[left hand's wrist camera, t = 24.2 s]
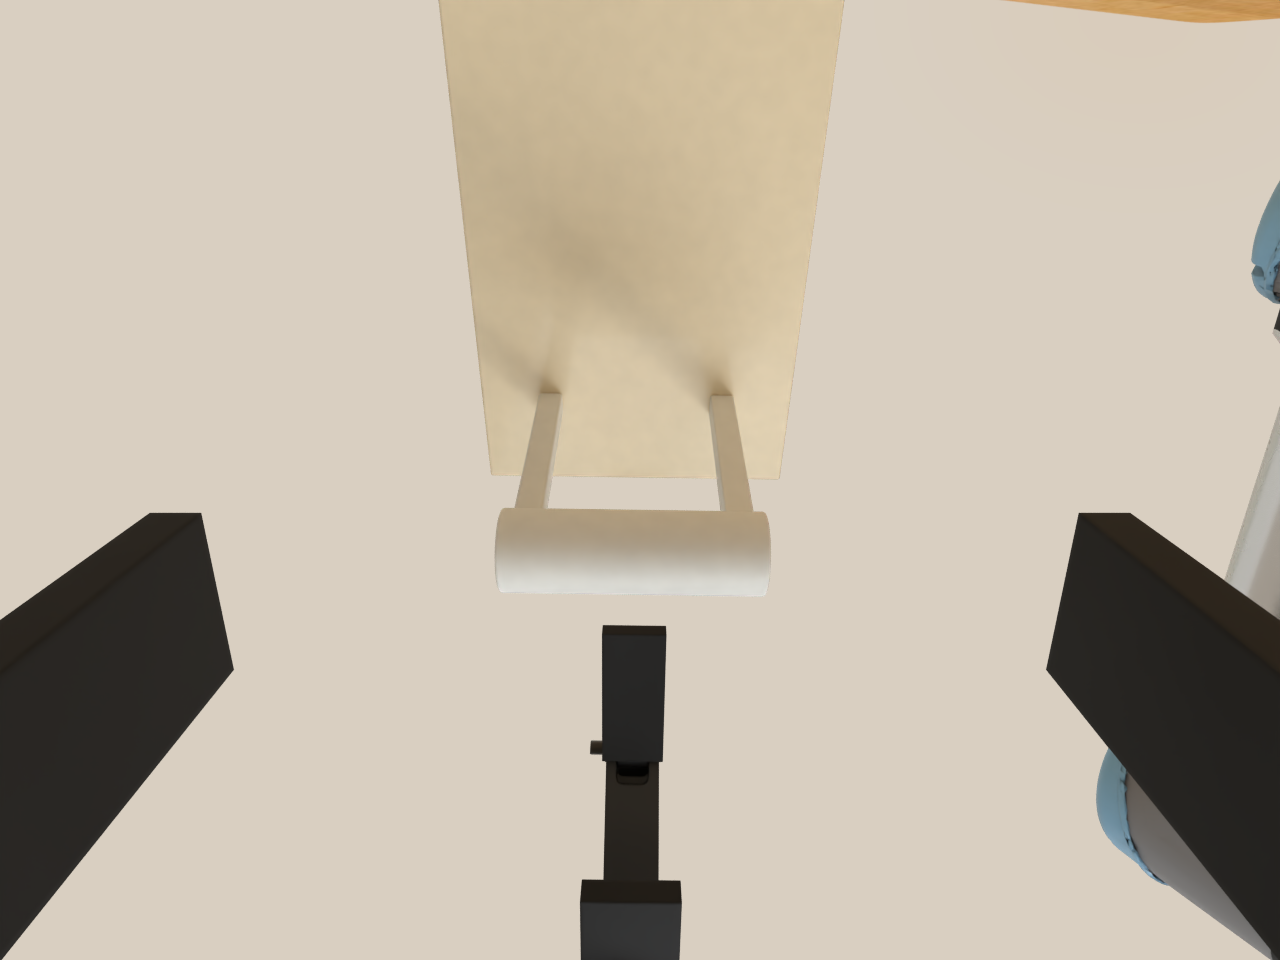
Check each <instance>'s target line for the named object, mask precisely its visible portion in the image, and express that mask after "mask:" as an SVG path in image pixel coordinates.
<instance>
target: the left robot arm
mask: <svg viewBox="0 0 1280 960" xmlns="http://www.w3.org/2000/svg"><path fill="white" fill-rule="evenodd" d="M233 670H234V668H233V664H232V659H231V654H230V649H229V644H228V639H227V635H226V630H225V625H224V620H223V616H222V611H221V606H220V601H219V596H218V592H217V587H216V582H215V577H214V572H213V567H212V563H211V558H210V553H209V548H208V544H207V539H206V534H205V529H204V524H203V520H202V515H201V513H149V514H148V515H146V516H145V517H144V518H142V519H141V520H139V521H138V522H137V523H135V524H134V525H132V526H131V527H130V528H128V529H127V530H125V531H124V532H123V533H121V534H120V535H118V536H117V537H116V538H114V539H113V540H111V541H110V542H109V543H107V544H106V545H104V546H103V547H102V548H100V549H99V550H97V551H96V552H95V553H93V554H92V555H90V556H89V557H88V558H86V559H85V560H83V561H82V562H81V563H79V564H78V565H76V566H75V567H74V568H72V569H71V570H69V571H68V572H67V573H65V574H64V575H62V576H61V577H60V578H58V579H57V580H55V581H54V582H53V583H51V584H50V585H48V586H47V587H46V588H44V589H43V590H41V591H40V592H39V593H37V594H36V595H34V596H33V597H32V598H30V599H29V600H28V601H26V602H25V603H23V604H22V605H21V606H19V607H18V608H16V609H15V610H14V611H12V612H11V613H9V614H8V615H7V616H5V617H4V618H2V619H1V620H0V960H2V959H3V957H4V956H5V955H6V954H7V952H8V951H9V950H10V949H11V947H12V946H13V945H14V944H15V942H16V941H17V940H18V939H19V937H20V936H21V935H22V934H23V932H24V931H25V930H26V929H27V927H28V926H29V925H30V924H31V922H32V921H33V920H34V919H35V917H36V916H37V915H38V914H39V912H40V911H41V910H42V909H43V907H44V906H45V905H46V904H47V902H48V901H49V900H50V899H51V897H52V896H53V895H54V894H55V892H56V891H57V890H58V889H59V887H60V886H61V885H62V884H63V882H64V881H65V880H66V879H67V877H68V876H69V875H70V874H71V872H72V871H73V870H74V869H75V867H76V866H77V865H78V864H79V862H80V861H81V860H82V859H83V857H84V856H85V855H86V854H87V852H88V851H89V850H90V849H91V847H92V846H93V845H94V844H95V842H96V841H97V840H98V839H99V837H100V836H101V835H102V834H103V832H104V831H105V830H106V829H107V827H108V826H109V825H110V824H111V822H112V821H113V820H114V819H115V817H116V816H117V815H118V814H119V812H120V811H121V810H122V809H123V807H124V806H125V805H126V804H127V802H128V801H129V800H130V799H131V798H132V796H133V795H134V794H135V792H136V791H137V790H138V789H139V787H140V786H141V785H142V784H143V782H144V781H145V780H146V779H147V778H148V776H149V775H150V774H151V773H152V771H153V770H154V769H155V768H156V766H157V765H158V764H159V763H160V761H161V760H162V759H163V758H164V756H165V755H166V754H167V753H168V751H169V750H170V749H171V747H172V746H173V745H174V744H175V743H176V741H177V740H178V739H179V738H180V736H181V735H182V734H183V733H184V731H185V730H186V729H187V727H188V726H189V725H190V724H191V723H192V721H193V720H194V719H195V717H196V716H197V715H198V714H199V713H200V711H201V710H202V709H203V708H204V706H205V705H206V704H207V703H208V701H209V700H210V699H211V698H212V696H213V695H214V694H215V693H216V691H217V690H218V689H219V688H220V686H221V685H222V684H223V683H224V681H225V680H226V679H227V678H228V676H229V675H230V674H231V673H232V671H233ZM1046 670H1047V671H1048V673H1049V674H1050V675H1051V676H1052V678H1053V679H1054V680H1055V681H1056V682H1057V684H1058V685H1059V686H1060V688H1061V689H1062V690H1063V691H1064V693H1065V694H1066V695H1067V696H1068V698H1069V699H1070V700H1071V701H1072V703H1073V704H1074V705H1075V706H1076V708H1077V709H1078V710H1079V711H1080V713H1081V714H1082V715H1083V716H1084V718H1085V719H1086V720H1087V721H1088V723H1089V724H1090V725H1091V726H1092V727H1093V729H1094V730H1095V731H1096V733H1097V734H1098V735H1099V736H1100V738H1101V739H1102V740H1103V741H1104V742H1105V744H1106V745H1107V746H1108V748H1109V749H1110V750H1111V751H1112V753H1113V754H1114V755H1115V756H1116V758H1117V759H1118V760H1119V761H1120V763H1121V764H1122V765H1123V766H1124V768H1125V769H1126V770H1127V771H1128V773H1129V774H1130V775H1131V776H1132V778H1133V779H1134V780H1135V781H1136V783H1137V784H1138V785H1139V786H1140V788H1141V789H1142V790H1143V791H1144V793H1145V794H1146V795H1147V796H1148V798H1149V799H1150V800H1151V801H1152V803H1153V804H1154V805H1155V806H1156V808H1157V809H1158V810H1159V811H1160V812H1161V814H1162V815H1163V816H1164V817H1165V819H1166V820H1167V821H1168V822H1169V824H1170V825H1171V826H1172V827H1173V829H1174V830H1175V831H1176V832H1177V834H1178V835H1179V836H1180V837H1181V839H1182V840H1183V841H1184V842H1185V844H1186V845H1187V846H1188V847H1189V849H1190V850H1191V851H1192V852H1193V854H1194V855H1195V856H1196V857H1197V859H1198V860H1199V861H1200V862H1201V864H1202V865H1203V866H1204V867H1205V869H1206V870H1207V871H1208V872H1209V874H1210V875H1211V876H1212V877H1213V879H1214V880H1215V881H1216V882H1217V884H1218V885H1219V886H1220V887H1221V889H1222V890H1223V891H1224V892H1225V894H1226V895H1227V896H1228V897H1229V899H1230V900H1231V901H1232V902H1233V904H1234V905H1235V906H1236V907H1237V909H1238V910H1239V911H1240V912H1241V914H1242V915H1243V916H1244V917H1245V919H1246V920H1247V921H1248V922H1249V924H1250V925H1251V926H1252V927H1253V929H1254V930H1255V931H1256V932H1257V934H1258V935H1259V936H1260V937H1261V939H1262V940H1263V941H1264V942H1265V944H1266V945H1267V946H1268V947H1269V949H1270V950H1271V951H1272V952H1273V954H1274V955H1275V956H1276V957H1277V959H1278V960H1280V620H1279V619H1278V618H1276V617H1275V616H1273V615H1272V614H1271V613H1269V612H1268V611H1266V610H1265V609H1264V608H1262V607H1261V606H1259V605H1258V604H1257V603H1255V602H1254V601H1252V600H1251V599H1250V598H1248V597H1247V596H1246V595H1244V594H1243V593H1241V592H1240V591H1239V590H1237V589H1236V588H1234V587H1233V586H1232V585H1230V584H1229V583H1227V582H1226V581H1225V580H1223V579H1222V578H1220V577H1219V576H1218V575H1216V574H1215V573H1213V572H1212V571H1211V570H1209V569H1208V568H1206V567H1205V566H1204V565H1202V564H1201V563H1199V562H1198V561H1197V560H1195V559H1194V558H1192V557H1191V556H1190V555H1188V554H1187V553H1185V552H1184V551H1183V550H1181V549H1180V548H1178V547H1177V546H1176V545H1174V544H1173V543H1171V542H1170V541H1169V540H1167V539H1166V538H1164V537H1163V536H1162V535H1160V534H1159V533H1157V532H1156V531H1155V530H1153V529H1152V528H1150V527H1149V526H1148V525H1146V524H1145V523H1143V522H1142V521H1141V520H1139V519H1138V518H1136V517H1135V516H1134V515H1132V514H1131V513H1079V515H1078V520H1077V524H1076V529H1075V534H1074V539H1073V543H1072V548H1071V553H1070V558H1069V563H1068V567H1067V572H1066V577H1065V582H1064V587H1063V592H1062V596H1061V601H1060V606H1059V611H1058V615H1057V621H1056V625H1055V630H1054V635H1053V639H1052V644H1051V649H1050V654H1049V659H1048V664H1047V668H1046Z"/></svg>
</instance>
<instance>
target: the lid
mask: <svg viewBox="0 0 1280 960" xmlns="http://www.w3.org/2000/svg"><path fill="white" fill-rule="evenodd" d="M843 6H844V0H439V8H440V17H441V26H442V34H443V44H444V53H445V62H446V71H447V80H448V89H449V98H450V107H451V116H452V125H453V134H454V143H455V152H456V161H457V170H458V179H459V188H460V197H461V206H462V215H463V224H464V234H465V242H466V252H467V261H468V269H469V279H470V288H471V296H472V306H473V315H474V324H475V333H476V342H477V351H478V360H479V369H480V378H481V387H482V396H483V405H484V414H485V423H486V432H487V441H488V450H489V459H490V468H491V474H492V475H505V476H521V481H520V485H519V490H518V494H517V499H516V504H515V508H503V509H502V510H501V512H500V515H499V518H498V523H497V529H496V539H495V574H496V582H497V586H498V589H499V591H500V592H502V593H555V594H622V595H623V594H624V595H691V596H760V597H763V596H765V595H766V592H767V590H768V585H769V579H770V567H771V541H770V529H769V523H768V518H767V516H766V514H765V513H764V512H753V506H752V500H751V495H750V489H749V483H748V479H776V480H778V479H779V477H780V470H781V463H782V455H783V448H784V441H785V433H786V426H787V418H788V411H789V404H790V396H791V389H792V382H793V374H794V367H795V360H796V352H797V345H798V337H799V330H800V323H801V315H802V308H803V301H804V293H805V286H806V278H807V271H808V263H809V256H810V249H811V242H812V234H813V227H814V220H815V212H816V205H817V198H818V190H819V183H820V176H821V168H822V161H823V153H824V146H825V139H826V131H827V124H828V116H829V109H830V102H831V94H832V87H833V80H834V72H835V65H836V58H837V50H838V43H839V36H840V28H841V21H842V14H843ZM552 476H573V477H641V478H710V479H717V485H718V493H719V501H720V510H721V511H678V510H610V509H609V510H608V509H547V507H548V501H549V495H550V489H551V482H552Z"/></svg>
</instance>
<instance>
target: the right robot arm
mask: <svg viewBox="0 0 1280 960" xmlns="http://www.w3.org/2000/svg"><path fill="white" fill-rule="evenodd" d="M1251 260H1252V262H1253V263H1254V264H1255V265H1256V266H1255V267H1254V269H1253V271H1252V279H1253V283H1254V286H1255V288H1256V289H1257V291H1258V292H1259V293H1260V294H1261V295H1263V296H1264V297H1266V298H1268V299H1269V300H1270V301H1272V302H1273V303H1277V304H1280V182H1279V183H1278V185H1277V187H1276V188H1275V190H1274V192H1273V194H1272V196H1271V198H1270V200H1269V202H1268V204H1267V206H1266V209H1265V211H1264V213H1263V215H1262V218H1261V221H1260V224H1259V226H1258V229H1257V232H1256V236H1255V240H1254V245H1253V250H1252V259H1251ZM1273 335H1274V336H1275V337H1276V339H1277V340H1278V341H1279V342H1280V310H1279V314H1278V317H1277V320H1276V324H1275V327H1274V330H1273ZM1225 581H1226V582H1227V583H1229V584H1230V585H1232V586H1233V587H1234V588H1236V589H1237V590H1239V591H1240V592H1241V593H1243V594H1244V595H1246V596H1247V597H1248V598H1250V599H1251V600H1252V601H1254V602H1255V603H1257V604H1258V605H1259V606H1261V607H1262V608H1264V609H1265V610H1266V611H1268V612H1269V613H1271V614H1272V615H1273V616H1275V617H1276V618H1278V619H1279V620H1280V408H1279V411H1278V414H1277V417H1276V420H1275V423H1274V427H1273V430H1272V433H1271V436H1270V439H1269V442H1268V445H1267V448H1266V452H1265V455H1264V458H1263V461H1262V464H1261V467H1260V470H1259V473H1258V477H1257V480H1256V483H1255V486H1254V489H1253V492H1252V495H1251V498H1250V502H1249V505H1248V508H1247V511H1246V514H1245V517H1244V520H1243V523H1242V527H1241V530H1240V533H1239V536H1238V539H1237V542H1236V545H1235V548H1234V552H1233V555H1232V558H1231V561H1230V564H1229V567H1228V570H1227V574H1226V577H1225ZM665 663H666V626H623V625H603V630H602V741H591V746H590V754H599V755H602V761H605V762H606V796H605V839H604V880H582V885H581V897H580V931H581V960H679V956H680V933H681V909H682V899H681V882H680V881H665V880H664V881H663V880H658V859H659V762H662V761H663V732H664V698H665ZM1096 803H1097V812H1098V817H1099V820H1100V823H1101V826H1102V828H1103V830H1104V832H1105V834H1106V835H1107V837H1108V838H1109V839H1110V840H1111V841H1112V843H1113V844H1114V845H1115V846H1116V847H1117V848H1118V849H1119V850H1121V851H1122V852H1123V853H1125V854H1126V855H1127V856H1128V857H1130V858H1131V859H1132V860H1134V861H1135V862H1136V863H1137V864H1139V866H1140V867H1141V869H1142V870H1143V871H1144V872H1145V873H1146V874H1147V875H1149V876H1150V877H1151V878H1153V879H1155V880H1156V881H1158V882H1160V883H1161V884H1164V885H1168V886H1171V887H1172V888H1173V889H1175V890H1176V891H1177V892H1179V893H1180V894H1181V895H1183V896H1184V897H1186V898H1187V899H1188V900H1190V901H1191V902H1192V903H1194V904H1195V905H1196V906H1198V907H1199V908H1201V909H1202V910H1203V911H1205V912H1206V913H1207V914H1209V915H1210V916H1212V917H1213V918H1214V919H1216V920H1217V921H1218V922H1220V923H1221V924H1222V925H1224V926H1225V927H1227V928H1228V929H1229V930H1231V931H1232V932H1233V933H1235V934H1236V935H1238V936H1239V937H1240V938H1242V939H1243V940H1244V941H1246V942H1247V943H1249V944H1250V945H1251V946H1253V947H1254V948H1255V949H1257V950H1258V951H1259V952H1261V953H1262V954H1264V955H1265V956H1266V957H1268V958H1269V959H1271V960H1278V959H1277V957H1276V956H1275V955H1274V954H1273V952H1272V951H1271V950H1270V949H1269V947H1268V946H1267V945H1266V944H1265V942H1264V941H1263V940H1262V939H1261V937H1260V936H1259V935H1258V934H1257V932H1256V931H1255V930H1254V929H1253V927H1252V926H1251V925H1250V924H1249V922H1248V921H1247V920H1246V919H1245V917H1244V916H1243V915H1242V914H1241V912H1240V911H1239V910H1238V909H1237V907H1236V906H1235V905H1234V904H1233V902H1232V901H1231V900H1230V899H1229V897H1228V896H1227V895H1226V894H1225V892H1224V891H1223V890H1222V889H1221V887H1220V886H1219V885H1218V884H1217V882H1216V881H1215V880H1214V879H1213V877H1212V876H1211V875H1210V874H1209V872H1208V871H1207V870H1206V869H1205V867H1204V866H1203V865H1202V864H1201V862H1200V861H1199V860H1198V859H1197V857H1196V856H1195V855H1194V854H1193V852H1192V851H1191V850H1190V849H1189V847H1188V846H1187V845H1186V844H1185V842H1184V841H1183V840H1182V839H1181V837H1180V836H1179V835H1178V834H1177V832H1176V831H1175V830H1174V829H1173V827H1172V826H1171V825H1170V824H1169V822H1168V821H1167V820H1166V819H1165V817H1164V816H1163V815H1162V814H1161V812H1160V811H1159V810H1158V809H1157V808H1156V806H1155V805H1154V804H1153V803H1152V801H1151V800H1150V799H1149V798H1148V796H1147V795H1146V794H1145V793H1144V791H1143V790H1142V789H1141V788H1140V786H1139V785H1138V784H1137V783H1136V781H1135V780H1134V779H1133V778H1132V776H1131V775H1130V774H1129V773H1128V771H1127V770H1126V769H1125V768H1124V766H1123V765H1122V764H1121V763H1120V761H1119V760H1118V759H1117V758H1116V756H1115V755H1114V754H1113V753H1112V751H1111V750H1110V749H1109V748H1108V750H1107V753H1106V755H1105V757H1104V760H1103V763H1102V766H1101V770H1100V773H1099V778H1098V784H1097V794H1096Z"/></svg>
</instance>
